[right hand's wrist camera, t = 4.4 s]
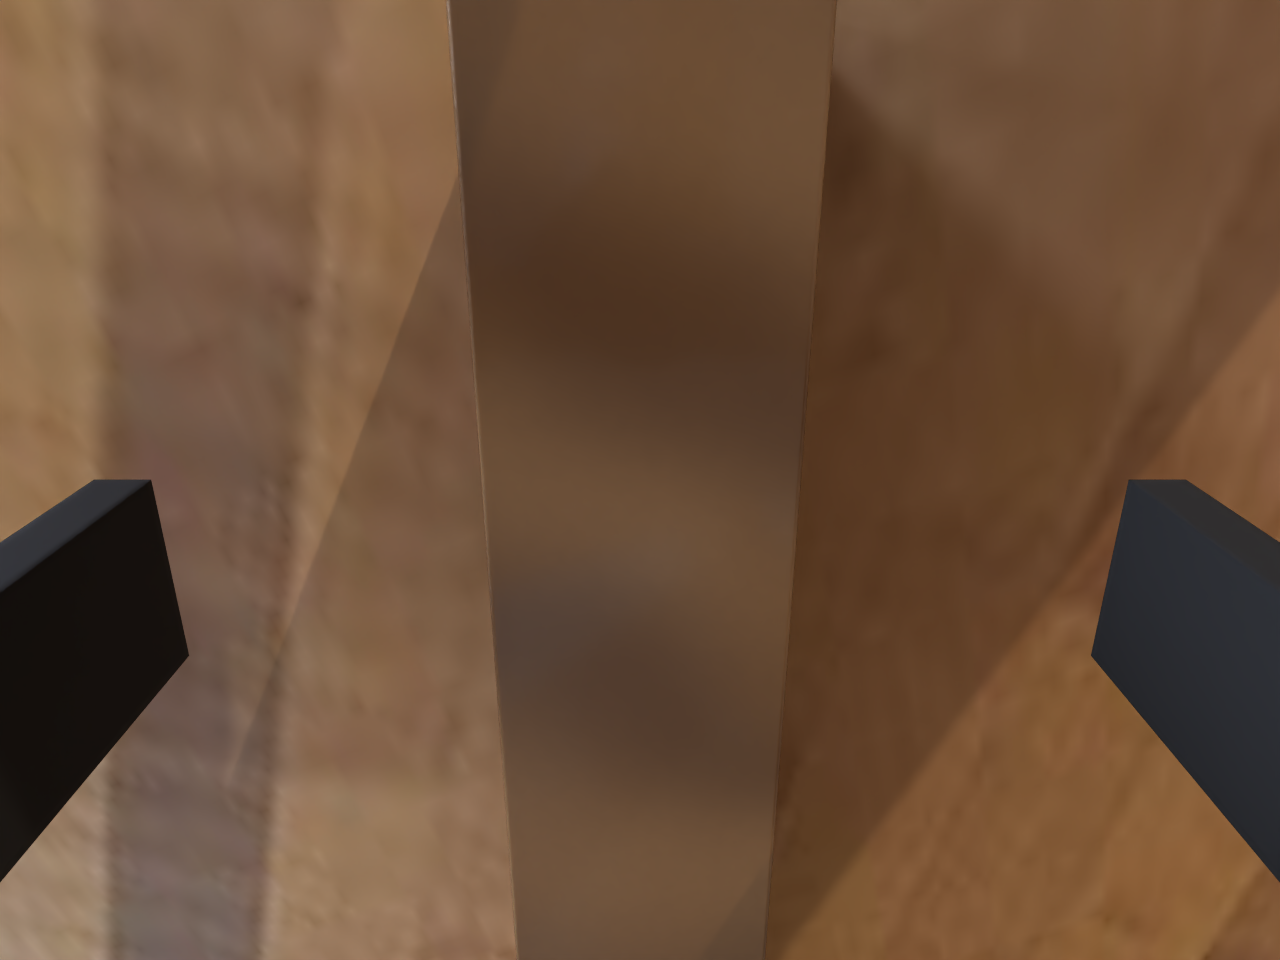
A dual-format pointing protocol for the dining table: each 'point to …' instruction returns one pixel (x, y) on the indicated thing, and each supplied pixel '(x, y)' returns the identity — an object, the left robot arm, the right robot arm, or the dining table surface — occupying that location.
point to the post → (641, 444)
